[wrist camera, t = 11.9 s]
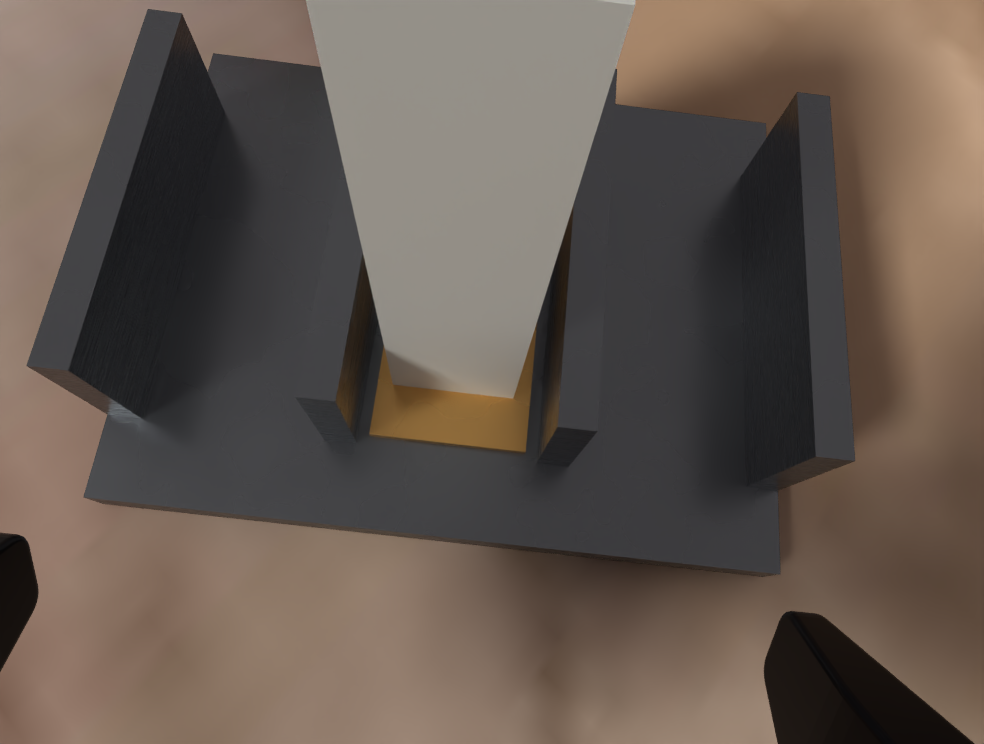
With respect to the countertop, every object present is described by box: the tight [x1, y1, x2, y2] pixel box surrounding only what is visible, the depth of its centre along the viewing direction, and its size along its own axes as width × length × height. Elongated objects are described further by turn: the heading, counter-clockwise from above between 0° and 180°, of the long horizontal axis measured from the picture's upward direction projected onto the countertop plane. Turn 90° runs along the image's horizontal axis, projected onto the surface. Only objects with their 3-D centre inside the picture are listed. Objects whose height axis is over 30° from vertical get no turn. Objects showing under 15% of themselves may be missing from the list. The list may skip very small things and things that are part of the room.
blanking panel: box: [306, 0, 635, 399], centre depth 13 cm, size 6×3×12 cm, turn 174°
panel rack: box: [27, 9, 855, 577], centre depth 18 cm, size 13×16×4 cm
